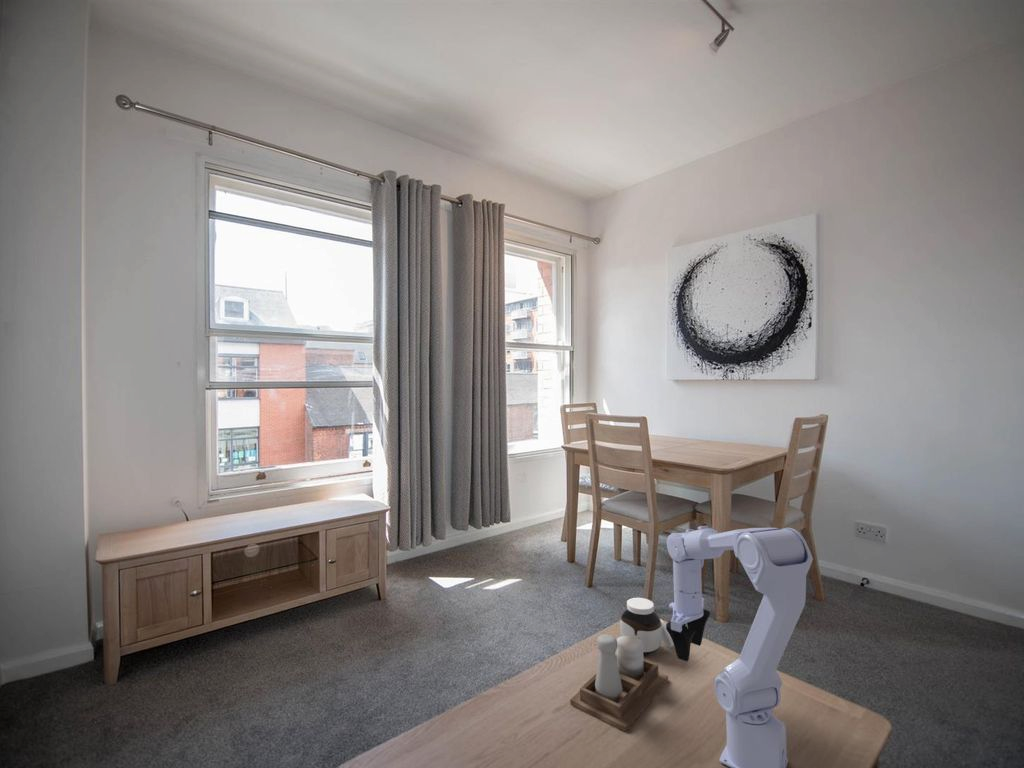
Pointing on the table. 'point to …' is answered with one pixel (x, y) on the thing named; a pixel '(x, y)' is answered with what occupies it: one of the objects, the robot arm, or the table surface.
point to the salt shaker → (608, 669)
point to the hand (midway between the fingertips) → (689, 651)
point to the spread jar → (645, 625)
